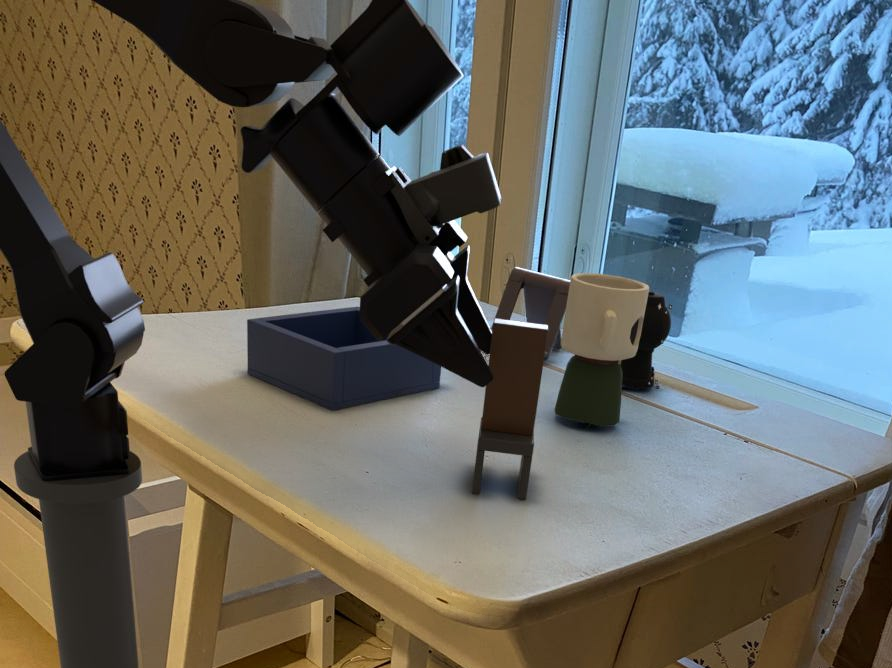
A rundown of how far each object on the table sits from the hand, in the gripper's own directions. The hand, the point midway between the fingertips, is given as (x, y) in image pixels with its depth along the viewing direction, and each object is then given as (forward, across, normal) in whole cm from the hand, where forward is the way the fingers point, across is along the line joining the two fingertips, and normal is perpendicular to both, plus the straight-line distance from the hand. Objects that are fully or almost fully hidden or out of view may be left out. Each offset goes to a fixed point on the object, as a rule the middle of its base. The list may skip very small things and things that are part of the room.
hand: (490, 365), depth 71 cm
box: (-4, +22, +17) cm, 28 cm away
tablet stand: (+9, +44, +4) cm, 45 cm away
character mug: (+14, +19, 0) cm, 23 cm away
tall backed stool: (+8, 0, +5) cm, 9 cm away
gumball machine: (+18, +34, -4) cm, 38 cm away
